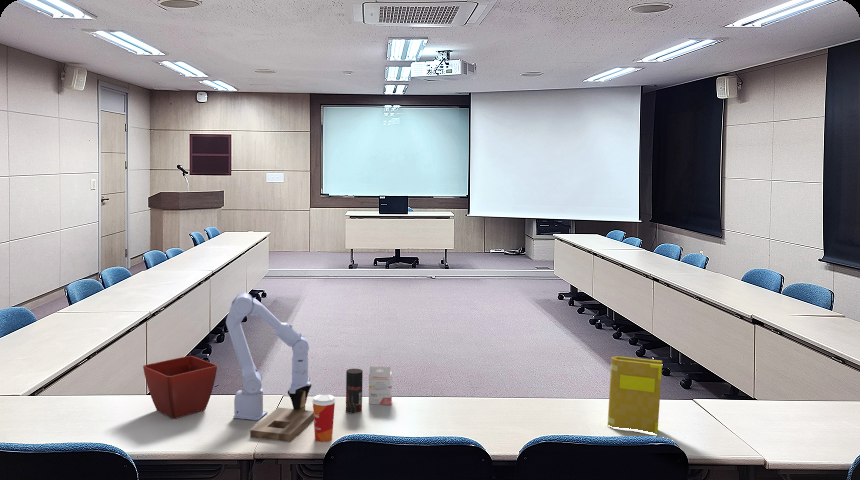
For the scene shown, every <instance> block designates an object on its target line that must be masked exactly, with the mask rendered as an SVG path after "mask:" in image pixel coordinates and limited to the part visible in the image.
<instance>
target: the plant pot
mask: <svg viewBox="0 0 860 480" xmlns="http://www.w3.org/2000/svg"><path fill="white" fill-rule="evenodd" d="M142 368H143V373H144V378H145V381H146V386H147V389H148V391H149V395H150V398H151V400H152V402H153V404H154V406H155V407H154V408H155V409H156V411H157V412H159V413H160V414H163V415H165V416H167V417H169V418H171V419H177V418H181V417H184V416H188V415H192V414H197V413H199V412H200V413H201V412H203V411H206V409H207V407H208V404H209V401H210V398H211V396H212V393H213V388H214V385H215V382H216V376H217V370H218V369H217V368H218V365H217V364H215V363H212V362H209V361H208V360H205V359H201V358H199V357H196V356H194V355H188V356H180V357H178V358H177V357H176V358H171V359H167V360H162V361H158V362H153V363H148V364H144V365H143V367H142Z"/></svg>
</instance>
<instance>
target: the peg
mask: <svg viewBox="0 0 860 480" xmlns="http://www.w3.org/2000/svg"><path fill="white" fill-rule="evenodd" d="M300 391H303V392H304V393H303V396H302V399H301V406H300V409H299V410H306V404H305V391H304V390H300Z"/></svg>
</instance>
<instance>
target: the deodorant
mask: <svg viewBox="0 0 860 480" xmlns="http://www.w3.org/2000/svg"><path fill="white" fill-rule="evenodd" d="M363 371H364V370H363V369H361V368H349V369H347V370H346V373H345V374H346V375H345V378H346V379H345V380H346V381H345V382H346V383H345V412H346V413H348V414H359V413H361V412H362V411H363V377H364V375H363Z"/></svg>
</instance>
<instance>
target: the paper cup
mask: <svg viewBox="0 0 860 480" xmlns="http://www.w3.org/2000/svg"><path fill="white" fill-rule="evenodd" d="M312 398H313V399H312V401H311V402H312V405H313V406H312V407H313V409H312V411H314V419H313V428H314V440H315V442H319V443H320V442H321V443H327V442H330V441H332V440H333V432H334V419H335V417H334V416H335V403H336V402H337V401H336V399H335V396H334V395H332V394H317V395H315V396H314V397H312Z"/></svg>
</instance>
